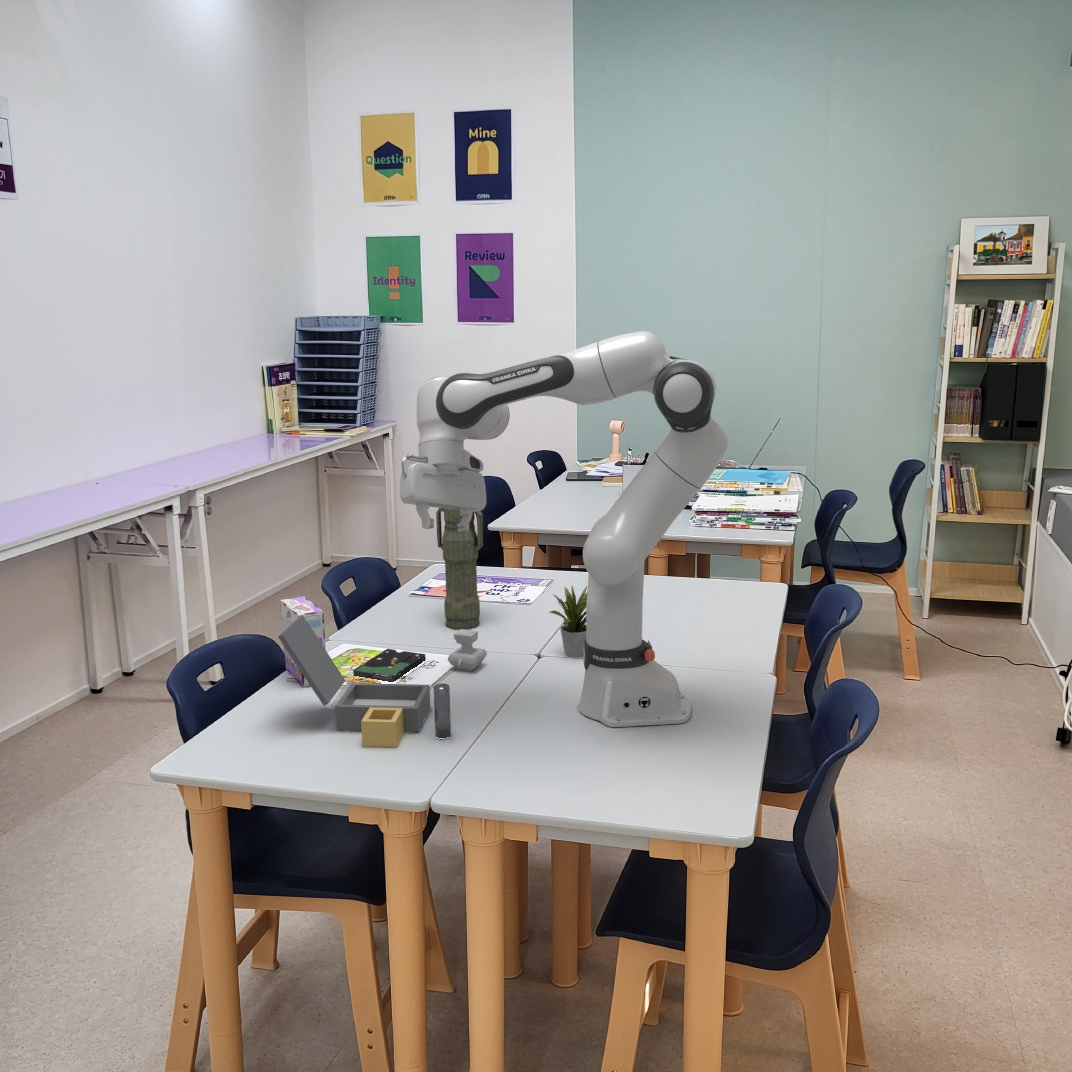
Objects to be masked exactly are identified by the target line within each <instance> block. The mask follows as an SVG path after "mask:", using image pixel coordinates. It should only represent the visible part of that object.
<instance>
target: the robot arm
mask: <svg viewBox="0 0 1072 1072" xmlns="http://www.w3.org/2000/svg"><path fill="white" fill-rule="evenodd" d="M716 383H717V382H716V379H715V377H714V375H713V374H712V372H711V370H710V369H709V368H708V367H707V366H706V365H705V364H703V363H701V362H699V361H696V360H694V359H688V358H682V357H681V358H680V357H676V356H672V355H671V356H669V355H668V354H667V351H666V349H665V346H664V344H663V342H662V341H661V339H660V338H659V337H658V336H657V335H656V334H654V333H653V332H651V331H649V330H647V331H646V330H640V331H634V332H629V333H624V334H623V333H622V334H619V335H615V336H610V337H607V338H605V339H602V340H598V341H595V342H593V343H590V344H587V345H584V346H582V347H578V348H576V349H573V350H569V351H567V352H562V353H559V354H556V355H552V356H547V357H544V358H543V357H542V358H538V359H535V360H531V361H528V362H524V363H520V364H516V365H513V366H510V367H505V368H502V369H498V370H496V371H491V372H487V373H469V372H460V373H456V374H453V375H451V376H436V377H432V378H430V379H428V380H426V381H424V382H423V383H422V384H421V385H420V387H419V389H418V391H417V392H418V393H417V395H416V426H417V430H418V432H419V441H418V445H417V446H418V447H417V449H418V456H416V455H413V454H407V455H406V456H404V457H403V459H402V460H401V464H400V465H401V473H400V479H399V482H400V483H399V498H400V500H401V501H402V503H403V504H407V505H415V507H416V508H415V509H416V511H415V512H417V515H418V516H419V519H420V520H421V527H422V528H423V529H424V530H430V529H431V530H432V529H434V528H435V523H434V522H435V520H434V518H431V515H430V513H429V511H428V510H430V508H438V509H439V508H444V509H452V510H460V515H461V516H462V519H461V522H460V523H458V524H457V527H458V532H462V533H465V532H468V531H469V522H470V520H471V517H472V515H473V512H476V511H483V510H484V509H485V507H486V505H487V492H486V491H487V490H486V488H487V487H486V482H485V478H484V476H483V474H482V472H483V471H484V462H483V460H481V459H480V458H478V457H476V456H475V455H473V454H472V453H471V452H469V451H468V450H466V449H465V445H464V441H466V440H475V441H476V440H478V441H487V440H493V439H496V438H498V437H499V436H500V435H502V434H503V433H504V432H505V430H506V428H507V427H508V425H509V422H510V417H511V416H510V414H511V413H510V409H509V405H510V404H513V403H516V402H520V401H524V400H527V399H531V398H535V397H551V398H552V397H553V398H557V399H562V400H565V401H568V402H571V403H574V404H576V405H580V406H587V405H594V404H595V405H596V404H601V403H606V402H608V401H612V400H614V399H617V398H621V397H624V396H626V395H629V394H632V393H635V392H636V393H638V392H648V393H650V394H652V395H653V398H654V401H655V405H656V407H657V408H658V410H659V413H660V414H662V416H663V417H664V419H665V420H666V422H667V423H668V425H669V426H670V431H669V432H668V434H667V436H666V438H665V439H664V440H663V441H662V443H661V444H660V445H659V446H658V447H657V449H656V450H655V451H654V452H653V454H652V455H651V456H650V457H649V458H648V460H647V461H646V462H645V464H644V465H643V466H642V467H641V468H640V470H639V471H638V472H637V473H636V475H635V476H634V477H633V478H632V480H630V482H629V483H628V484H627V486H626V487H625V489H624V490H623V492H622V493H621V494H620V495H619V497H618V498H617V500H615V502H614V503H613V505H612V506H611V507H610V509H609V510H608V511H607V512H606V514H604V515H602V516H600V518H599V519H598V520H596V521H595V523H594V524H593V527H592V528H591V529H590V531H589V534H588V536H587V538H586V540H585V541H584V544H583V547H582V548H583V549H582V559H583V560H582V562H583V564H584V566H585V570H586V572H587V573H588V579H587V585H588V586H587V590H586V593H587V601H586V608H585V611H586V615H585V617H586V623H585V625H586V640H585V642H584V651H583V654H584V655H583V667H584V680H583V684H582V691H581V696H580V699H579V701H578V705H577V708H578V711H579V712H580V713H581V714H582V715H584V716H585V717H588V718H589V719H592V720H596V721H599V722H601V723H602V724H604V725H605V726H607V727H609V728H620V727H621V728H622V727H623V728H624V727H638V726H640V727H641V726H657V725H659V726H660V725H676V724H677V725H679V724H684V723H686V722H687V721H689V719H690V718H691V716H692V705H691V702H690V700H689V698H688V697H687V696H686V695H685V694H684V693H682V692H681V690H680V686H679V683H678V680H677V678H676V676H675V675H674V674H673V673H672V672H671V671H670V670H668V669H667V668H665V667H664V666H662V665H661V664H660V663H659V662H657V661H656V660H655V659H656V654H655V651H654V650H653V645H652V644H651V642H650V640H648V639H647V641H646V640H644V639H643V608H644V607H643V603H644V581H645V580H644V579H645V561H646V559H647V558H648V557H649V555H650V554H651V553H652V551H653V550H654V549H655V547H656V546H657V544H658V543H659V542H660V541H661V539H662V537H664V535H665V534H666V533H667V531H668V530H669V528H670V527H671V525H672V524H673V523H674V521H675V520H676V519H677V517H679V515H680V514H681V513H682V512H683V510H684V509H685V508H686V507H688V504H689V503H690V502H691V501H692V500H693V499H694V497H695V496H696V495H698V493H699V492H700V490H701V489H702V487H703V486H704V485H705V484H706V483H707V482H708V481H709V479H710V477H711V476H712V475H713V473H714V471H715V470H716V469H717V468H718V466H719V464H720V463H721V460H722V458H723V457H724V456H725V454H726V451H727V448H728V445H729V441H728V437H727V434H726V432H725V430H724V428H722V426H721V425H720V424H719V423H717V422H716V421H715V420H714V419H713V418H712V415H711V413H712V408H713V406H714V405H713V404H714V401H715V399H716V395H717V384H716Z"/></svg>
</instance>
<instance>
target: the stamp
mask: <svg viewBox="0 0 1072 1072" xmlns="http://www.w3.org/2000/svg"><path fill="white" fill-rule="evenodd" d="M453 637H454V638H453V639H454V641H455V642H456V644H459V645H461V646H459V648H457V649H456V650H454V651H453V652H451V653H450V654H449V655H448V657H447V661H448V663H450V665H451V666H452V667H455V668H454V669H457V670H458V669H459V670H463V671H464V670H465V671H471V672H472V671H473V670H475V669H477V667H479V666H480V665H481V664H482V663H483V661H484V660H485V659H486V657H487V655H488V653H487V650H486V649H484V648H480V647H473V644H474V643H475V642H476V641H478V639H479V638H478V637H479V631H478V630H473V629H467V630H464V629H460V630H456V632H455V633H454V634H453Z"/></svg>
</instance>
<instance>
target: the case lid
mask: <svg viewBox="0 0 1072 1072" xmlns="http://www.w3.org/2000/svg"><path fill="white" fill-rule="evenodd" d="M277 637H278V640H279V641H280V642H281V645H283V648H284V647H285V648H286V650H287V651H288V653H289V654H290V656H291V657H292V659H293V660H294V662H295V663H296V665H297V666H298V668H299V669H300V671H301V672H302V674H303V675H304V677H305V678H306V680H307V681H308V683H309V684H310V686H309V687H310V688H311V689H312V691H313V692H314V694H315V695H316V697H317V698H318V700H319V701H320V703H321V705H323V707H326V706H327V705H329V703H330V702H331V701H332V699H333V698H334V697H335V695H336V694H337V693H338V691H339V690H340V689H341V687H342V686H343V685H344V683H345V681H346V679H345V677H344V676H343V675H342V673H341V672H340V670H339V669H338V667H337V666H336V664H335V662H334V661H333V659H332V658H331V656H330V655H329V653H328V652H327V650H326V649H325V648H326V647H325V648H324V647H323V645H322V644H321V642H320V641H319V639H318V638H317V636H316V635H315V633H314V632H313V630H312V629H311V627H310V625H309V624H308V622H307V621H306V619H305V618H304V616H303V615H301V616H299V617H298V618H297V619H296V620H295V621H294V622H293V623H292V624H291V625H290V626H289V627H288V628H287V629H286V630H285V631H284V632H283V631H282V632H281V633H280V634H279V635H278V636H277Z"/></svg>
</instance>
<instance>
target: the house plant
mask: <svg viewBox="0 0 1072 1072" xmlns="http://www.w3.org/2000/svg"><path fill="white" fill-rule="evenodd" d="M587 591H588V584H587V586H585V587H584V589H583V591H582V593H581V594H580V596H579V598H578V600H577V597H576V593H575V590H574V587H573V585H571V592H570V591H569V589H568V588H567V587H566V586H564V596H565V601H563V599H561V598H559V597H558V596H557V595H555V594H553V597H555V598H556V600H557V602H558V605H559V606H560V607H561V608H562V609H563V612H564V614H565V615H564V614H563V613H561V612H559V611H558V610H551V611H548V613H549V614H552V615H553V614H554V615H557V616H559V617H561V618H562V619H563V623H562V624H563V625H561V626H560V628H559V629H560V634H561V639H562V640H561V641H562V646H563V651H564V655H565V656H567V657H569V658H582V657H583V655H584V654H583V651H584V642H585V640H586V601H587ZM565 616H566V617H565Z"/></svg>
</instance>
